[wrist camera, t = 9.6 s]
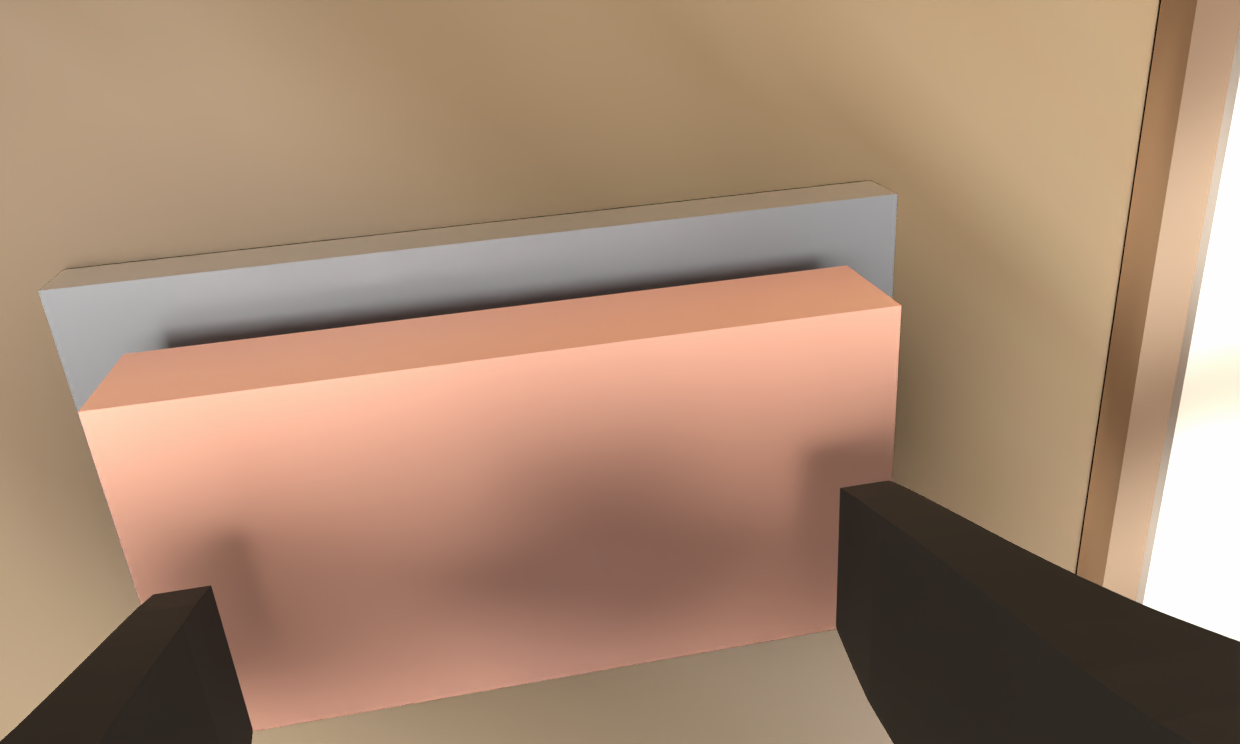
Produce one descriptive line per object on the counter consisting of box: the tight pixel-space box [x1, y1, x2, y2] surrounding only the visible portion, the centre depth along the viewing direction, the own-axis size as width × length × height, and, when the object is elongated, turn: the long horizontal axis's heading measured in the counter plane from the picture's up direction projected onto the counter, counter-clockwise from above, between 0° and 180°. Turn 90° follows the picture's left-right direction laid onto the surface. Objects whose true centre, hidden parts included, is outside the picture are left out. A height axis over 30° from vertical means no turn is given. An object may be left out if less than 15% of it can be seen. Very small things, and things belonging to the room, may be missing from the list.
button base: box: [38, 181, 897, 605], centre depth 16 cm, size 6×12×1 cm, turn 94°
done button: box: [78, 265, 901, 731], centre depth 14 cm, size 5×10×2 cm, turn 94°
